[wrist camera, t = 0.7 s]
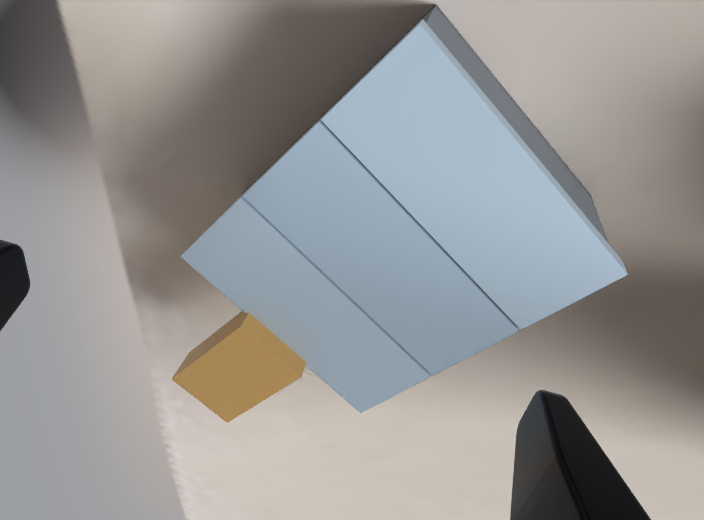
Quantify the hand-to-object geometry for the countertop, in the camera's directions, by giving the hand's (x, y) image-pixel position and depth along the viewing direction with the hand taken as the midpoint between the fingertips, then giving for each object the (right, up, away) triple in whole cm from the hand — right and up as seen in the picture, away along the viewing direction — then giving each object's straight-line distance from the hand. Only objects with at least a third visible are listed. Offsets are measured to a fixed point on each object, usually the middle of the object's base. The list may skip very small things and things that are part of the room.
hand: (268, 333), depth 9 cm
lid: (+1, 0, +10) cm, 10 cm away
